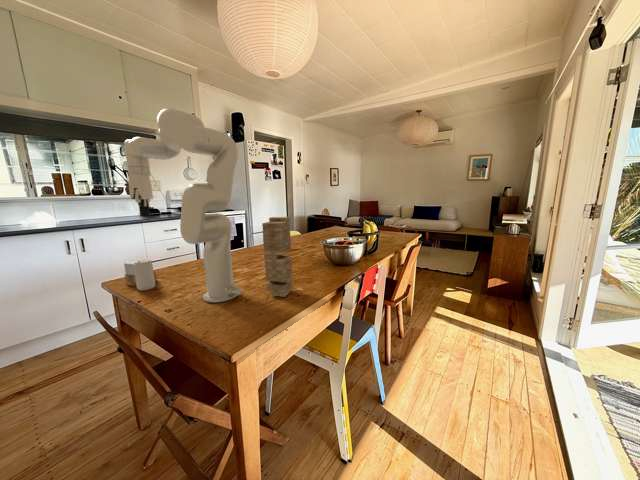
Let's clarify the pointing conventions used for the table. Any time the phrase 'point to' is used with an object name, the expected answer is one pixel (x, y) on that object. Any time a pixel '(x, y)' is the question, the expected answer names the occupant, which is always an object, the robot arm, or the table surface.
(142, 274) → the beverage can
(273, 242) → the block tower
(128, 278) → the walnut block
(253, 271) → the table surface
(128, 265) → the pale gray block
